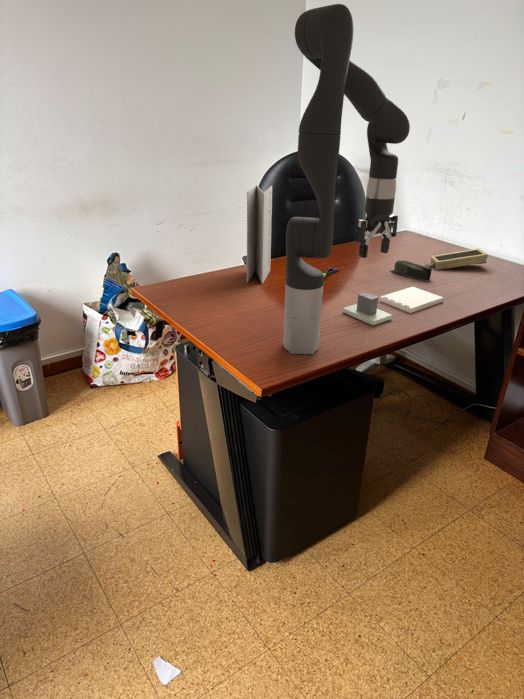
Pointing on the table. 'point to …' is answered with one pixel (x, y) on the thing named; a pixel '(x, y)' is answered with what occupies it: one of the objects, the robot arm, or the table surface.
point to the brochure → (259, 232)
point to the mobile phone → (412, 270)
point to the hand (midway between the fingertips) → (373, 255)
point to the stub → (367, 310)
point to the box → (458, 259)
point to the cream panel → (411, 299)
